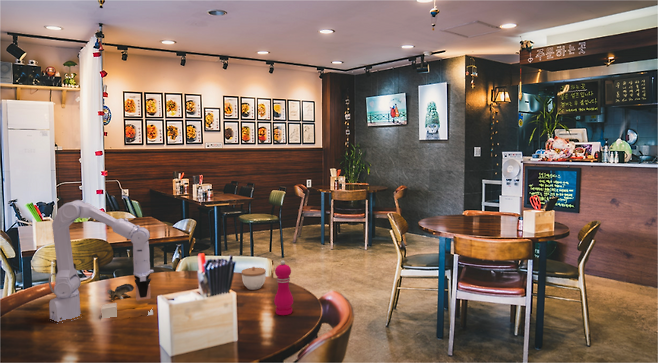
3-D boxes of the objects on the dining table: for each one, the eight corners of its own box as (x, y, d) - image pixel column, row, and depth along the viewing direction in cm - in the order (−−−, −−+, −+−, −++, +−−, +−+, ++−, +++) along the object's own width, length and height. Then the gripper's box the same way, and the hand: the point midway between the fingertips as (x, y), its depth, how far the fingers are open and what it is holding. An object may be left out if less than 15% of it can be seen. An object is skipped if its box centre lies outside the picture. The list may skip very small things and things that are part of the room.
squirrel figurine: (119, 301, 185) (137, 291, 193) (110, 287, 186) (128, 277, 193) (111, 308, 189) (130, 298, 197) (102, 294, 190) (121, 284, 197)
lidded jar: (239, 286, 207) (238, 265, 207) (262, 282, 212) (261, 262, 211) (245, 292, 198) (244, 271, 197) (269, 289, 202) (268, 268, 202)
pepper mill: (290, 316, 169) (289, 263, 167) (271, 315, 170) (270, 262, 169) (295, 309, 176) (294, 258, 174) (277, 308, 177) (276, 257, 176)
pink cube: (136, 300, 172) (135, 287, 171) (136, 296, 176) (135, 283, 176) (150, 298, 174) (150, 285, 174) (150, 294, 178) (149, 282, 178)
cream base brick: (101, 319, 167) (101, 308, 167) (102, 315, 172) (101, 304, 171) (116, 317, 169) (116, 306, 169) (117, 313, 174) (116, 302, 174)
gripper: (153, 263, 169) (155, 299, 170) (151, 254, 182) (153, 288, 183) (133, 265, 166) (134, 301, 167) (132, 256, 179) (134, 290, 180)
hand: (143, 295), depth 175 cm, fingers closed on pink cube, 5 cm apart
